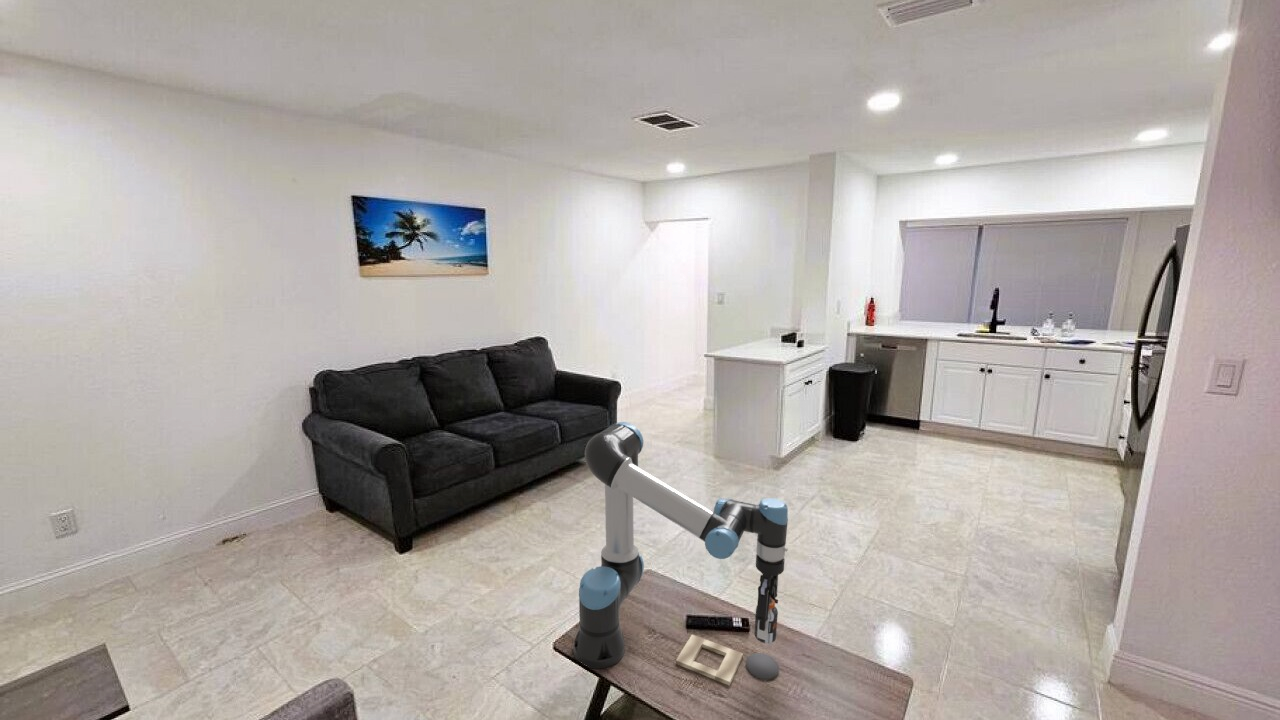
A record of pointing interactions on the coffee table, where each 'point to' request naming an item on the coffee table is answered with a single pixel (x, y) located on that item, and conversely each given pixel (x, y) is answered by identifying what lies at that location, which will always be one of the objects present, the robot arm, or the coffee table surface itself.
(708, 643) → the socket board
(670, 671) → the coffee table surface
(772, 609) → the pill bottle
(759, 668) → the grey river stone
